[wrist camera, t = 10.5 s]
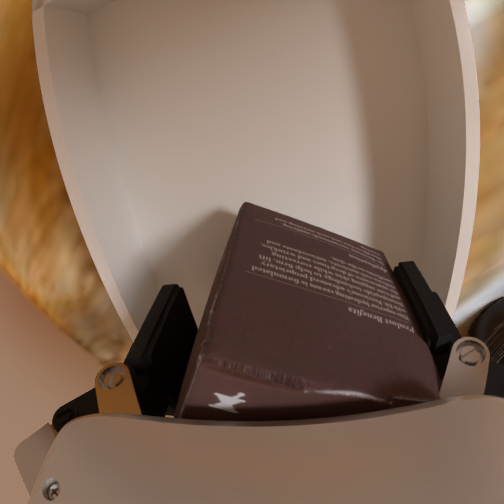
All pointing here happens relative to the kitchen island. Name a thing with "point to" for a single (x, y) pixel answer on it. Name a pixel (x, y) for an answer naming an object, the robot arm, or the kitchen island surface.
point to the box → (303, 329)
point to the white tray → (260, 131)
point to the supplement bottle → (491, 330)
